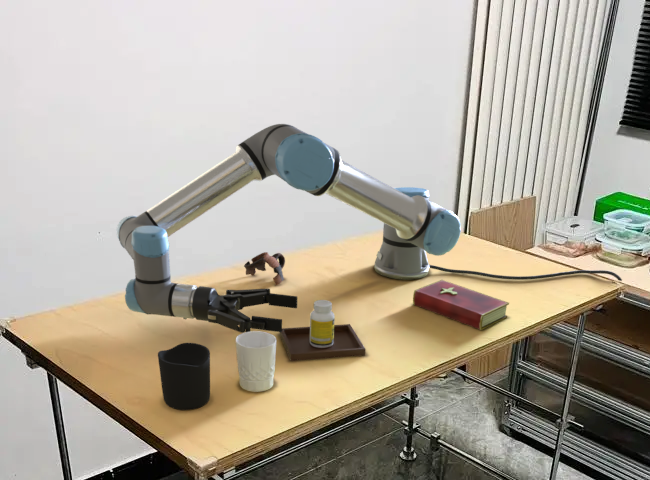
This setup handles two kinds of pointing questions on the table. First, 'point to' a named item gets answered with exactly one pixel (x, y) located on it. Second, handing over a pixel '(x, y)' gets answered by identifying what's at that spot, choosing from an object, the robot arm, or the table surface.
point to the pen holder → (185, 376)
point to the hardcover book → (460, 304)
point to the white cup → (256, 360)
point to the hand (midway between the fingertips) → (289, 313)
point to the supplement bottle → (322, 324)
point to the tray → (303, 350)
